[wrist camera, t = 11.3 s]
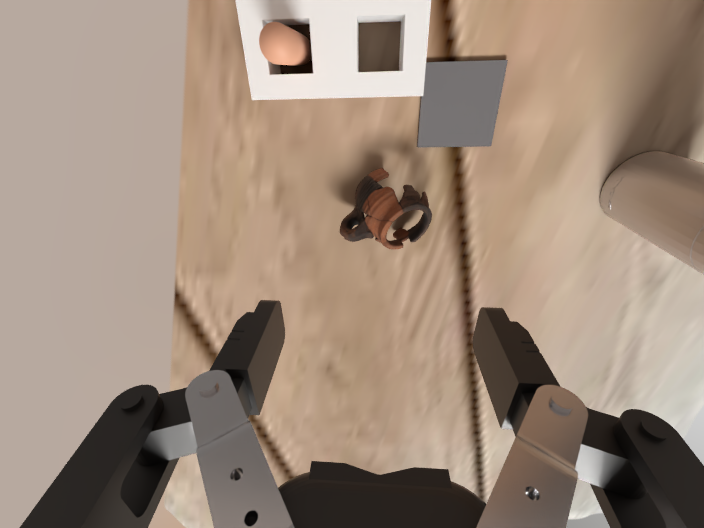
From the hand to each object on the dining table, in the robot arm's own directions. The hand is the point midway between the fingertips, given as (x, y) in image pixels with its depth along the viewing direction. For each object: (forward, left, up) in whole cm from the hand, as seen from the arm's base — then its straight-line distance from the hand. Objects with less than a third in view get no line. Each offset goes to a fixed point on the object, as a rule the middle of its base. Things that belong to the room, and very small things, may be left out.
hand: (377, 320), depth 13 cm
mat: (-10, -5, -33) cm, 34 cm away
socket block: (+4, -11, -33) cm, 34 cm away
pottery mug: (-1, +7, -33) cm, 34 cm away
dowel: (+8, -11, -33) cm, 35 cm away
